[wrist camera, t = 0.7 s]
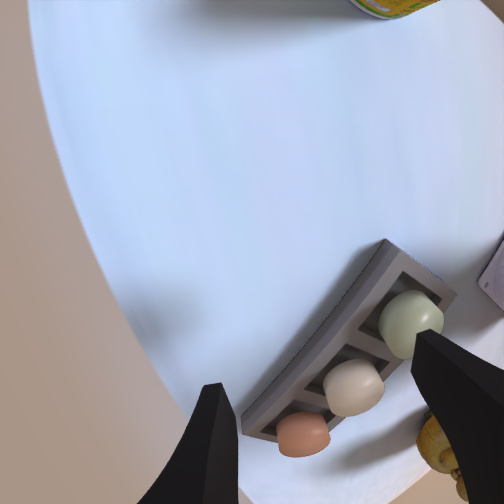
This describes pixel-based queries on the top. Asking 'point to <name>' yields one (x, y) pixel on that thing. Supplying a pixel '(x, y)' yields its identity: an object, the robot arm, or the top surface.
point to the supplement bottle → (391, 7)
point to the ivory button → (353, 387)
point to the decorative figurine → (439, 452)
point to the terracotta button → (302, 434)
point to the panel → (344, 341)
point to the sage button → (408, 321)
